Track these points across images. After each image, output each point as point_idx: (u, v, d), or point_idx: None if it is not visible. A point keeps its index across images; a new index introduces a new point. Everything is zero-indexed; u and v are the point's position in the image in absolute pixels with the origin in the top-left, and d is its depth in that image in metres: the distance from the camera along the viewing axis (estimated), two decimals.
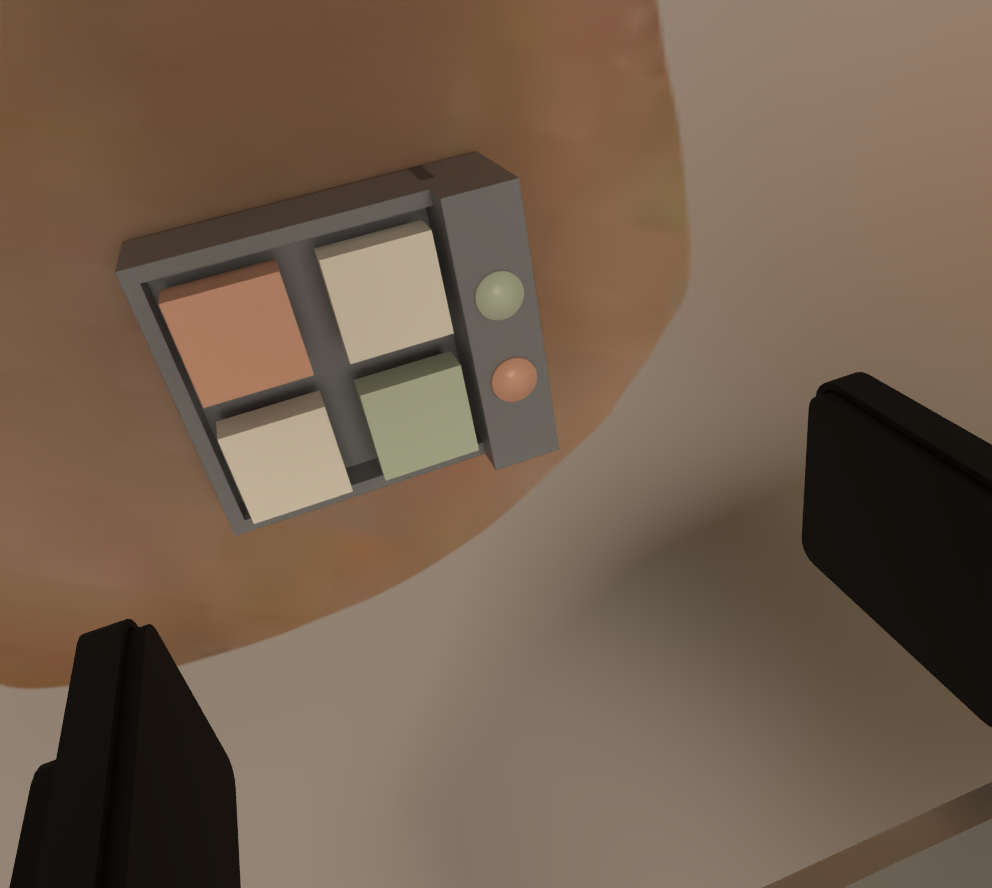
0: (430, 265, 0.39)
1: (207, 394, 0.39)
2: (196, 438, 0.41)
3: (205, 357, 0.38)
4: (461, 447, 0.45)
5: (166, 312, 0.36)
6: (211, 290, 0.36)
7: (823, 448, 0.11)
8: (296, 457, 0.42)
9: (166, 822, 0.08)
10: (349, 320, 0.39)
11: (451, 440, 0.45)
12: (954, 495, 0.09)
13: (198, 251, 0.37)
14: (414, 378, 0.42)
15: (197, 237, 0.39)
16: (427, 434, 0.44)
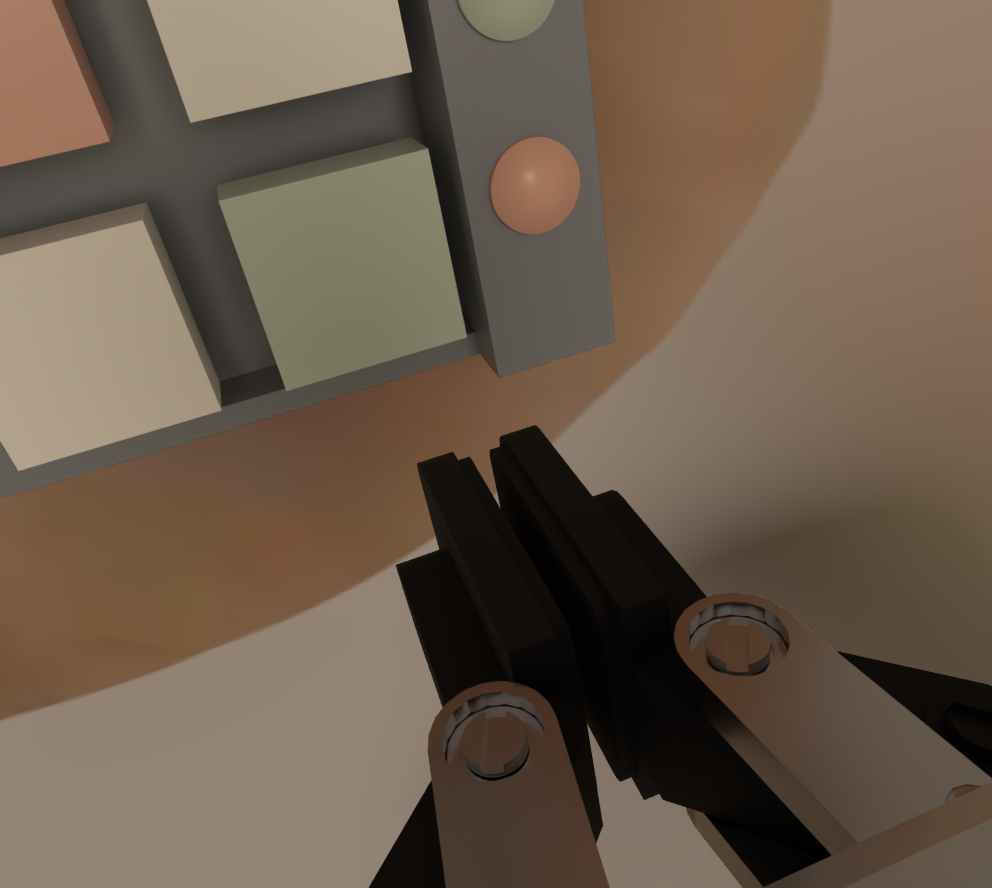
0: None
1: None
2: None
3: None
4: (433, 329, 0.24)
5: None
6: None
7: (503, 499, 0.11)
8: (92, 331, 0.21)
9: None
10: (178, 11, 0.18)
11: (412, 313, 0.23)
12: (555, 557, 0.09)
13: None
14: (332, 171, 0.21)
15: None
16: (364, 299, 0.23)
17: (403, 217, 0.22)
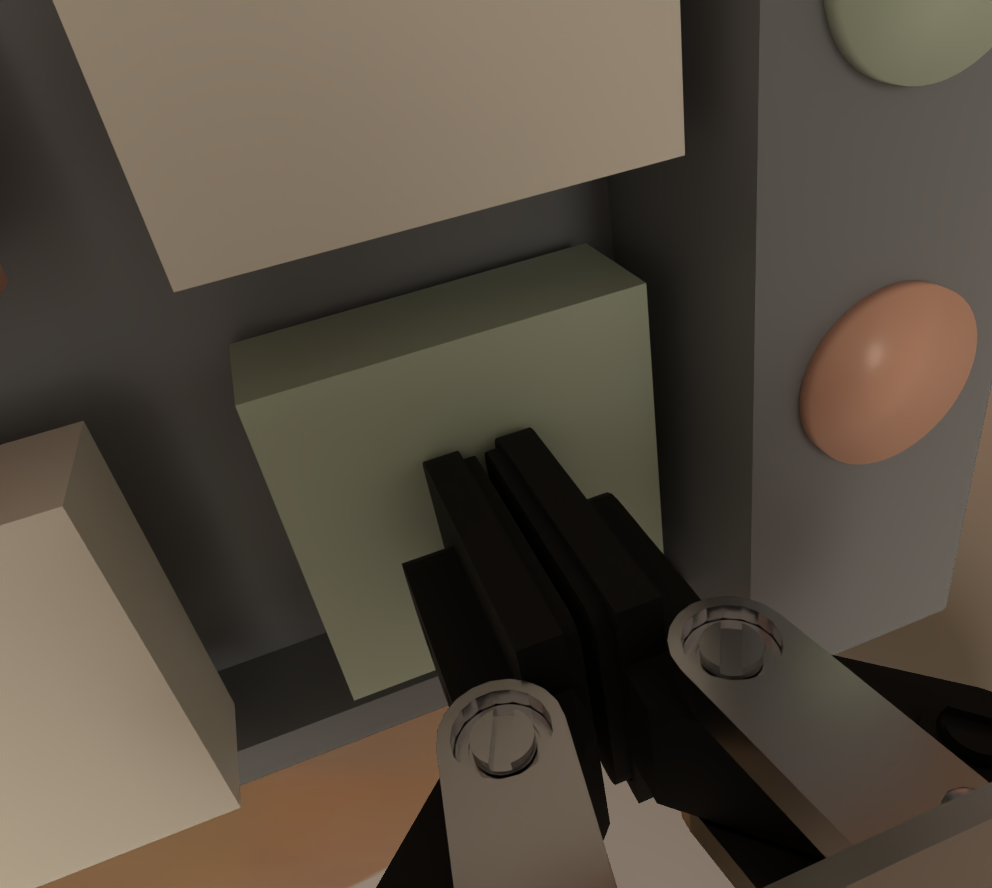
0: None
1: None
2: None
3: None
4: None
5: None
6: None
7: None
8: None
9: None
10: (139, 17, 0.07)
11: None
12: (550, 559, 0.09)
13: None
14: (462, 335, 0.10)
15: None
16: None
17: (586, 406, 0.11)
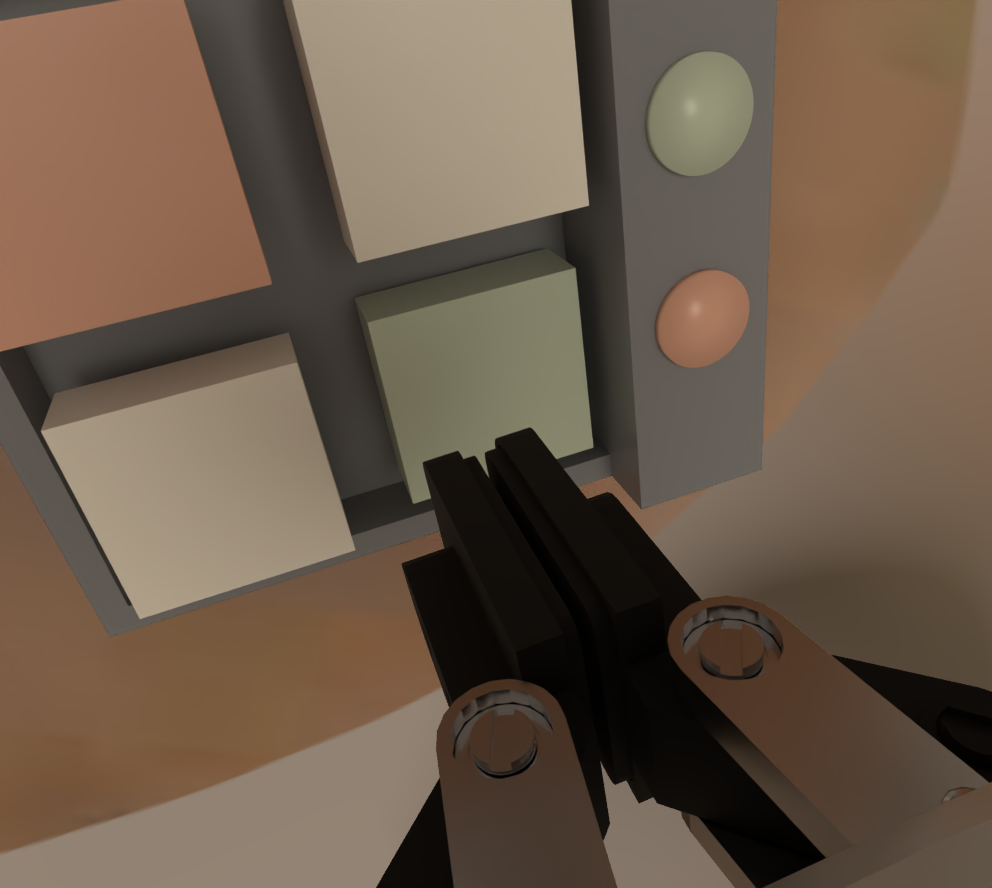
0: (553, 24, 0.17)
1: (6, 317, 0.16)
2: (5, 429, 0.18)
3: None
4: (562, 440, 0.23)
5: None
6: None
7: None
8: (232, 476, 0.19)
9: None
10: (358, 150, 0.16)
11: (543, 425, 0.23)
12: (550, 560, 0.09)
13: None
14: (479, 292, 0.20)
15: None
16: (498, 413, 0.22)
17: (544, 334, 0.21)
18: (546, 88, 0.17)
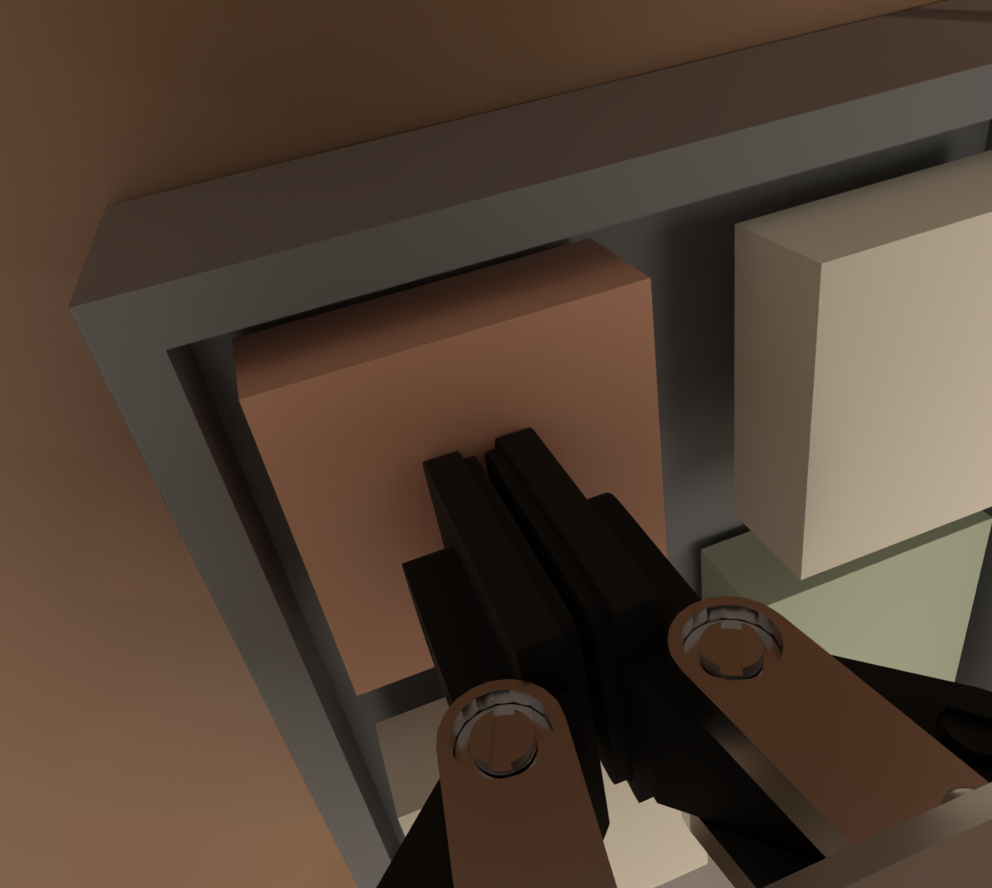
0: None
1: (372, 659, 0.12)
2: (320, 779, 0.14)
3: (379, 559, 0.12)
4: None
5: (265, 426, 0.10)
6: (425, 344, 0.10)
7: None
8: None
9: None
10: (841, 457, 0.12)
11: None
12: (550, 559, 0.09)
13: (386, 228, 0.10)
14: (883, 557, 0.16)
15: (354, 185, 0.12)
16: None
17: (938, 591, 0.17)
18: None
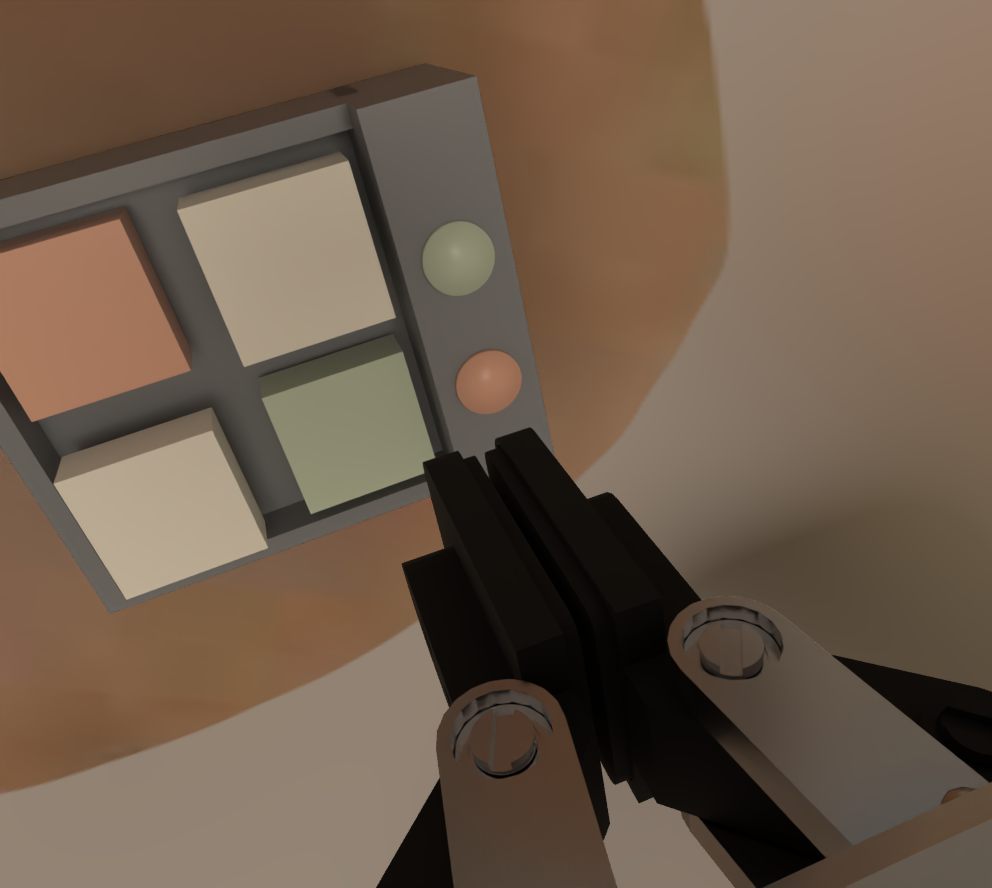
0: (351, 216, 0.26)
1: (34, 402, 0.27)
2: (32, 482, 0.29)
3: (23, 348, 0.26)
4: (413, 465, 0.33)
5: None
6: (18, 248, 0.25)
7: None
8: (178, 504, 0.29)
9: None
10: (235, 301, 0.27)
11: (397, 456, 0.33)
12: (550, 559, 0.09)
13: None
14: (337, 372, 0.30)
15: (8, 188, 0.26)
16: (363, 450, 0.32)
17: (388, 395, 0.31)
18: (353, 252, 0.27)
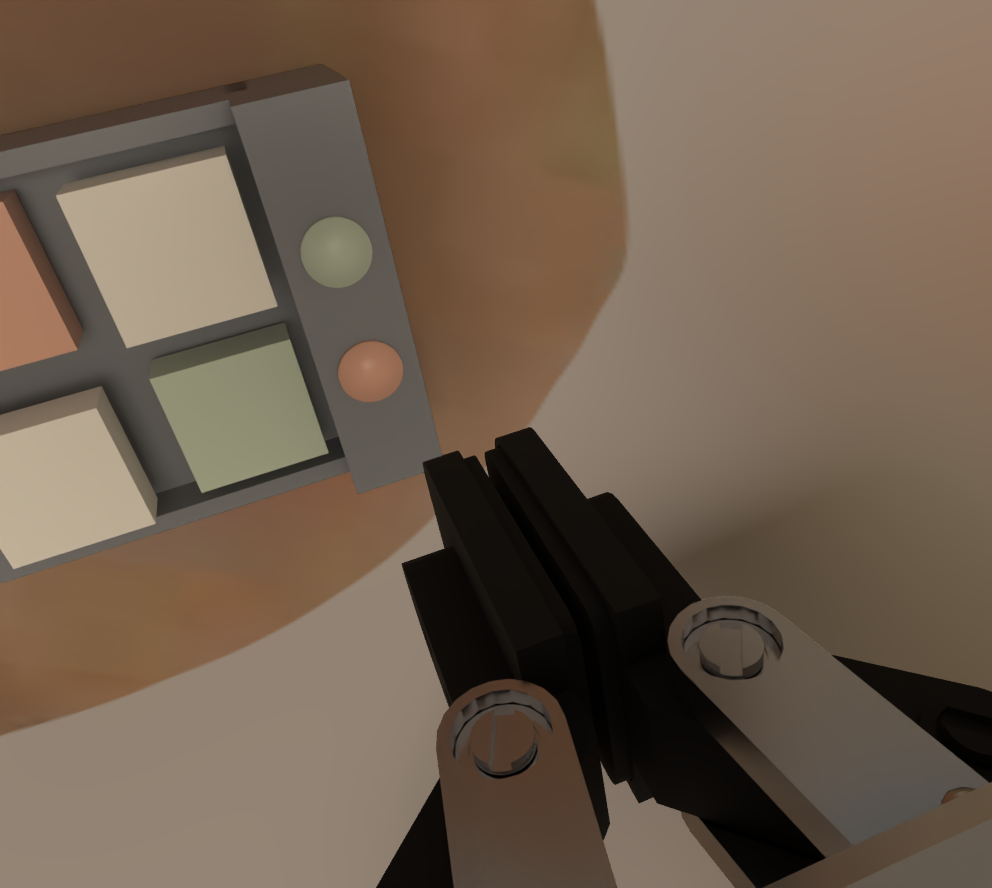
0: (230, 207, 0.28)
1: None
2: None
3: None
4: (304, 449, 0.35)
5: None
6: None
7: None
8: (63, 478, 0.30)
9: None
10: (116, 285, 0.28)
11: (287, 439, 0.34)
12: (550, 559, 0.09)
13: None
14: (225, 357, 0.32)
15: None
16: (252, 432, 0.33)
17: (276, 381, 0.33)
18: (233, 242, 0.28)
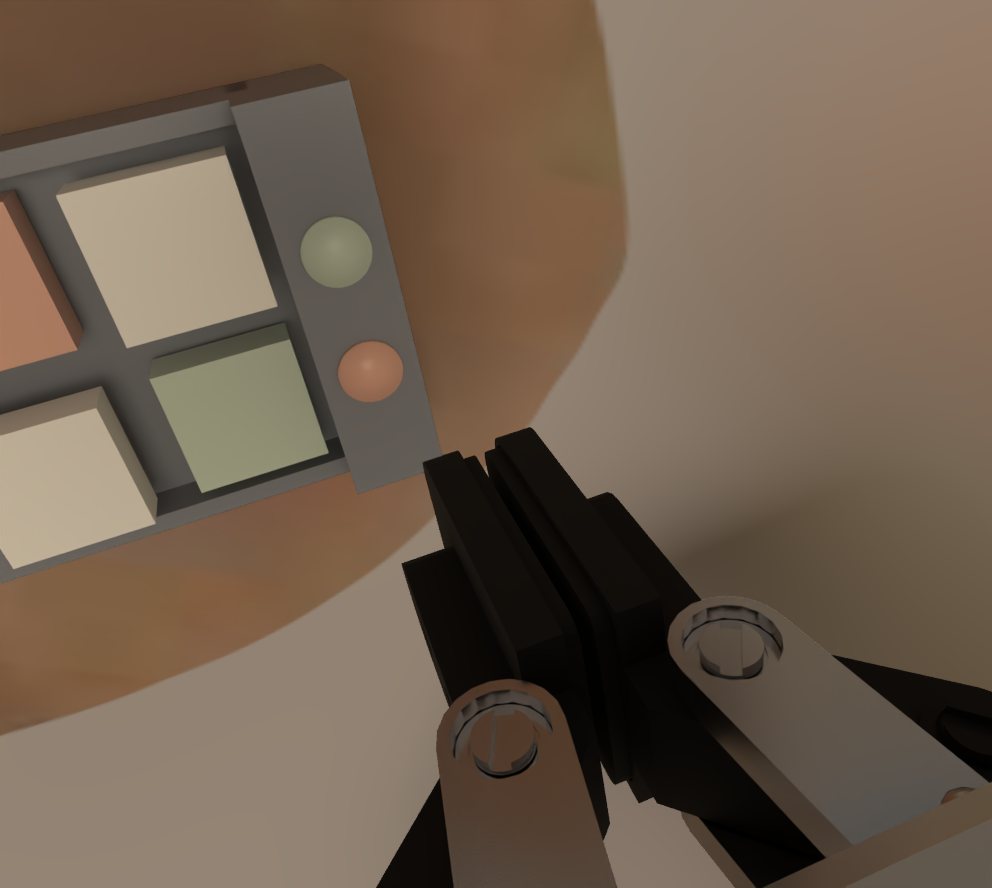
0: (230, 207, 0.28)
1: None
2: None
3: None
4: (304, 449, 0.35)
5: None
6: None
7: None
8: (63, 478, 0.30)
9: None
10: (116, 285, 0.28)
11: (287, 439, 0.34)
12: (550, 559, 0.09)
13: None
14: (225, 357, 0.32)
15: None
16: (252, 432, 0.33)
17: (276, 381, 0.33)
18: (233, 242, 0.28)
